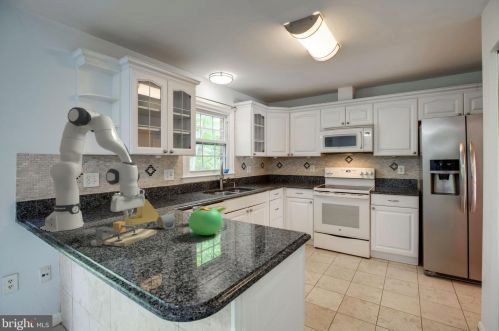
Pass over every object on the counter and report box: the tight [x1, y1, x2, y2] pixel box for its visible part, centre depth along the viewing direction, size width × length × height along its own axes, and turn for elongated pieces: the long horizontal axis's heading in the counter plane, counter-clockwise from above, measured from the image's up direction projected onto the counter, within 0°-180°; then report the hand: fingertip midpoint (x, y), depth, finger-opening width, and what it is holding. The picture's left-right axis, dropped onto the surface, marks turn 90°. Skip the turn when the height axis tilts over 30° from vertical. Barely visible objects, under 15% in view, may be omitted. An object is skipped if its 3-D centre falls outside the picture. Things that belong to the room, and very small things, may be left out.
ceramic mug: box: [156, 212, 176, 231], centre depth 141 cm, size 11×8×8 cm
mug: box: [190, 205, 208, 215], centre depth 149 cm, size 11×8×10 cm
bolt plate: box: [103, 228, 158, 248], centre depth 122 cm, size 12×22×2 cm, turn 163°
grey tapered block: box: [90, 226, 139, 247], centre depth 123 cm, size 12×26×7 cm, turn 163°
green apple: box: [188, 206, 227, 236], centre depth 128 cm, size 18×17×15 cm
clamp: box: [123, 198, 160, 226], centre depth 156 cm, size 20×9×16 cm, turn 136°
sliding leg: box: [112, 220, 137, 233], centre depth 124 cm, size 12×4×5 cm, turn 73°
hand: (128, 217), depth 132 cm, fingers closed
